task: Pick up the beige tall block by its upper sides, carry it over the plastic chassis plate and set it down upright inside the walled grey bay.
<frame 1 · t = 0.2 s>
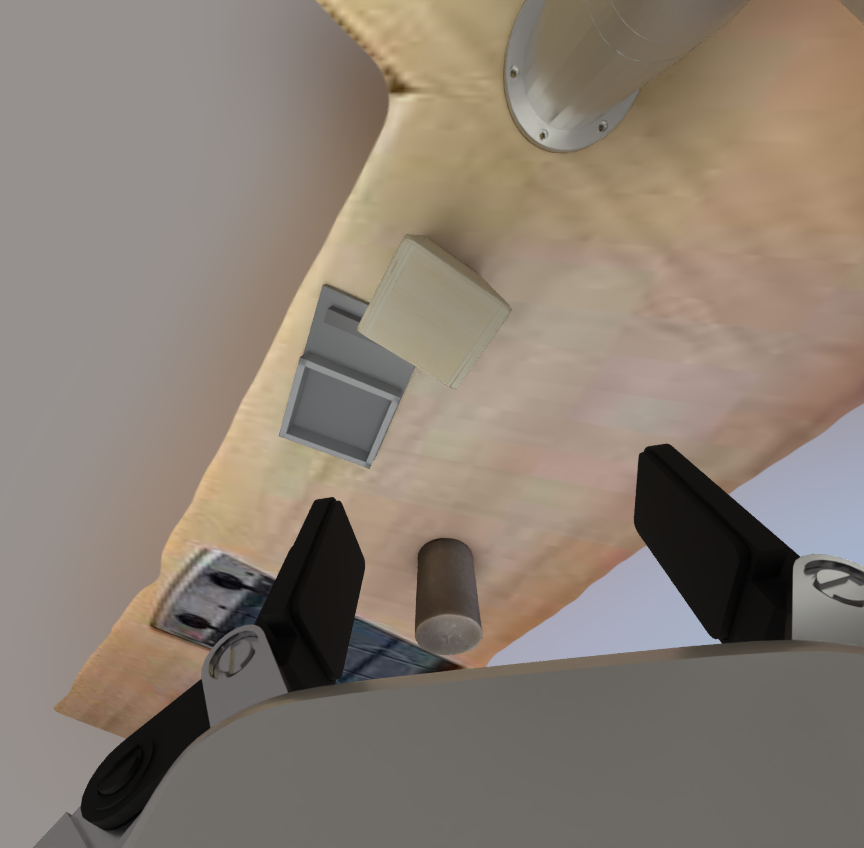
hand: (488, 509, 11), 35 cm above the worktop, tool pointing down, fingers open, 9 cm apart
beige tall block: (434, 284, 41), on the worktop
pillar candle: (446, 557, 62), on the worktop
chassis: (353, 380, 46), on the worktop
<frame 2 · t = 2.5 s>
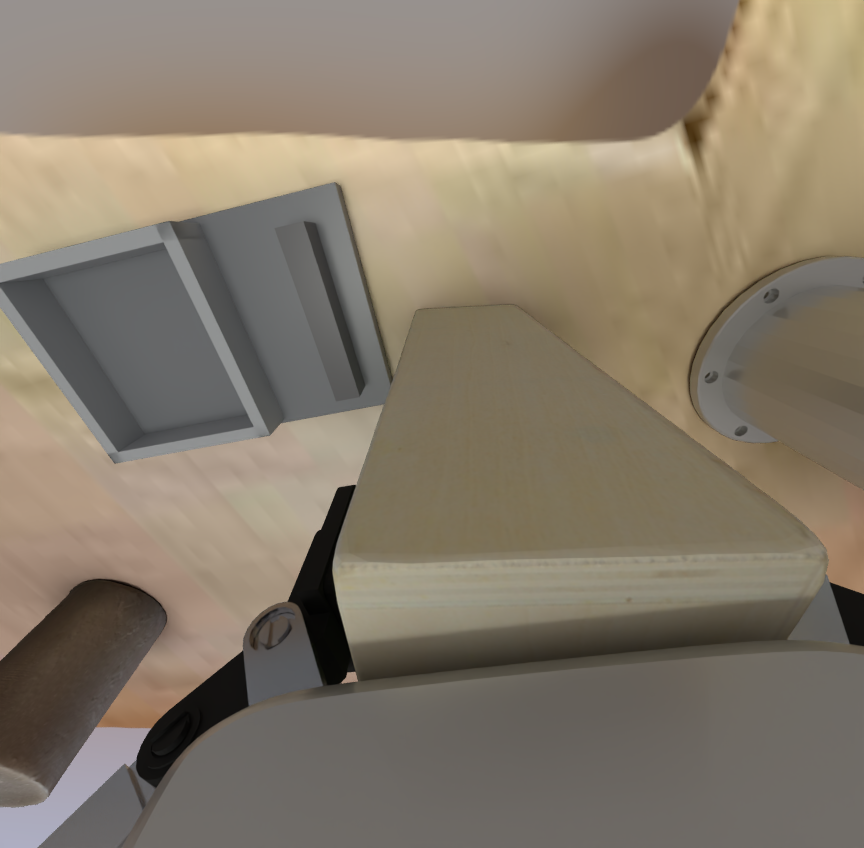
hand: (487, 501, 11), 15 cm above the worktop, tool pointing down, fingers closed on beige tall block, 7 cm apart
beige tall block: (459, 361, 25), on the worktop, touching gripper
pillar candle: (123, 608, 38), on the worktop
chassis: (230, 334, 24), on the worktop
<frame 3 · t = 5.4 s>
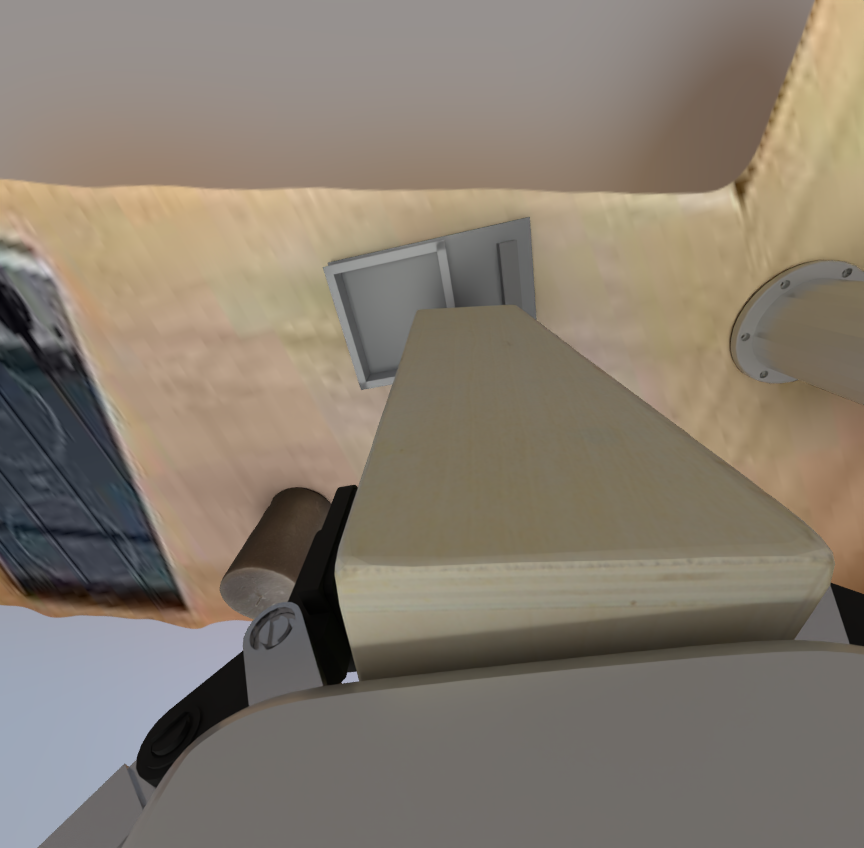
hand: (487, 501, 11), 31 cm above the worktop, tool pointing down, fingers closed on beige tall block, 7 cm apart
beige tall block: (460, 361, 25), point 15 cm above the worktop, touching gripper
pillar candle: (304, 513, 52), on the worktop
chassis: (438, 308, 38), on the worktop
when the fingers open (17 cm above the worktop, at t = 8.8 s): beige tall block drops 1 cm, resting on chassis.
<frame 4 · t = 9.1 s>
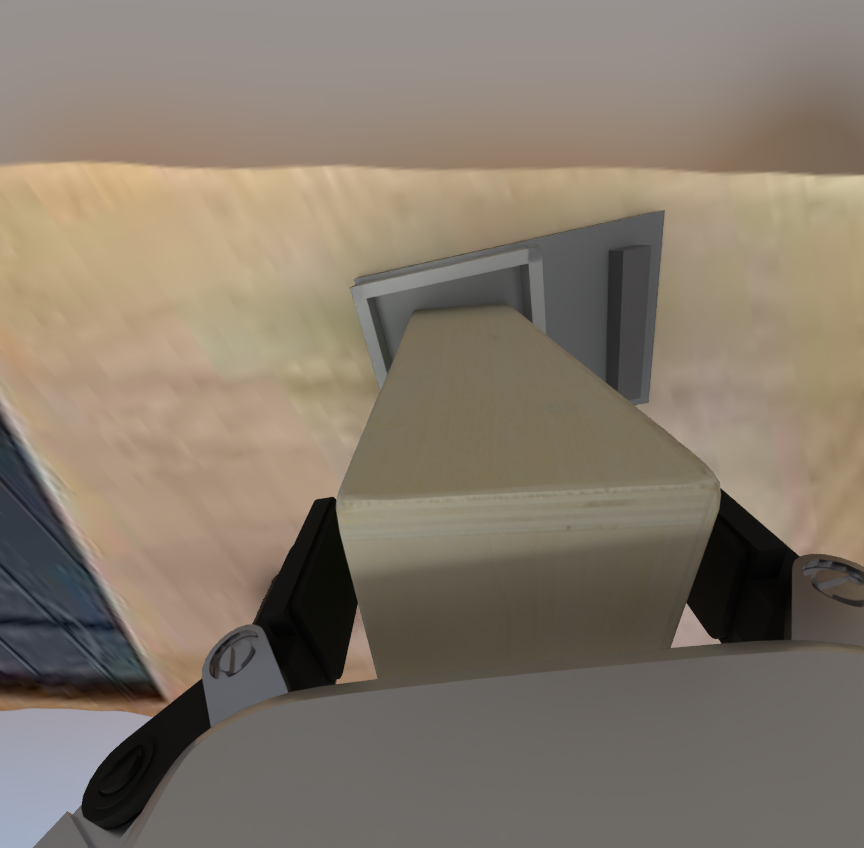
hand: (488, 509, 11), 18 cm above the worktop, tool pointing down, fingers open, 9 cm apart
beige tall block: (456, 358, 26), point 1 cm above the worktop, touching chassis
chassis: (509, 341, 27), on the worktop
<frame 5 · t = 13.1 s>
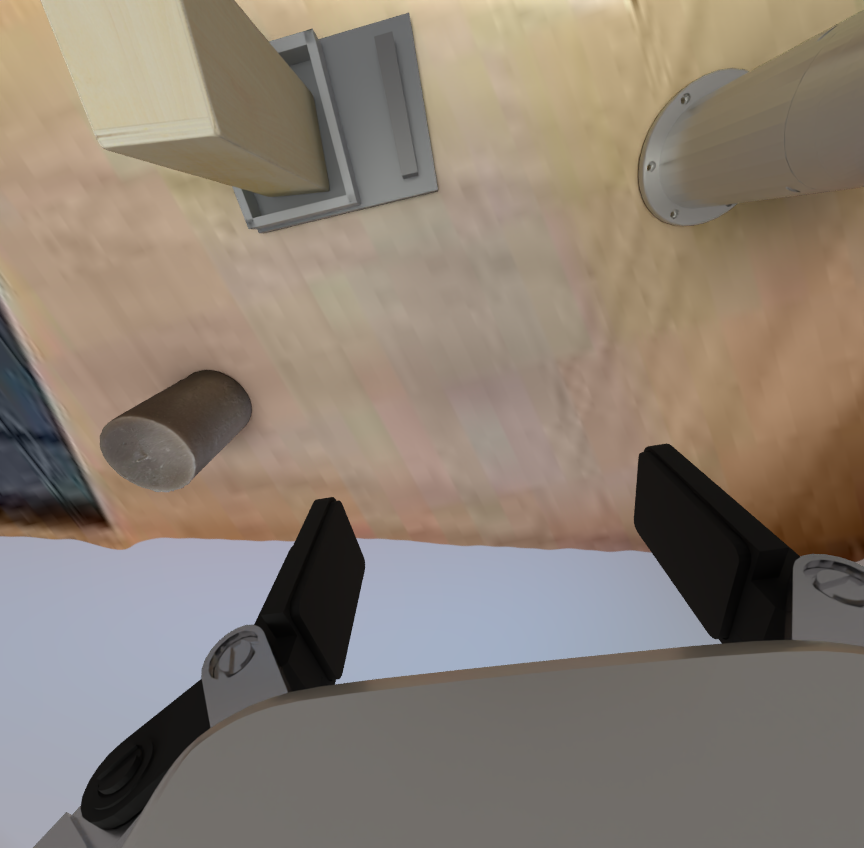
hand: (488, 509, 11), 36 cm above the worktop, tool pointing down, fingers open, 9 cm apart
beige tall block: (287, 148, 35), point 1 cm above the worktop, touching chassis
pillar candle: (218, 402, 50), on the worktop
chassis: (328, 138, 36), on the worktop
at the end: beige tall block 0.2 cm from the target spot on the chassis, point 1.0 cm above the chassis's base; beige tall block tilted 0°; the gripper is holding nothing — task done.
